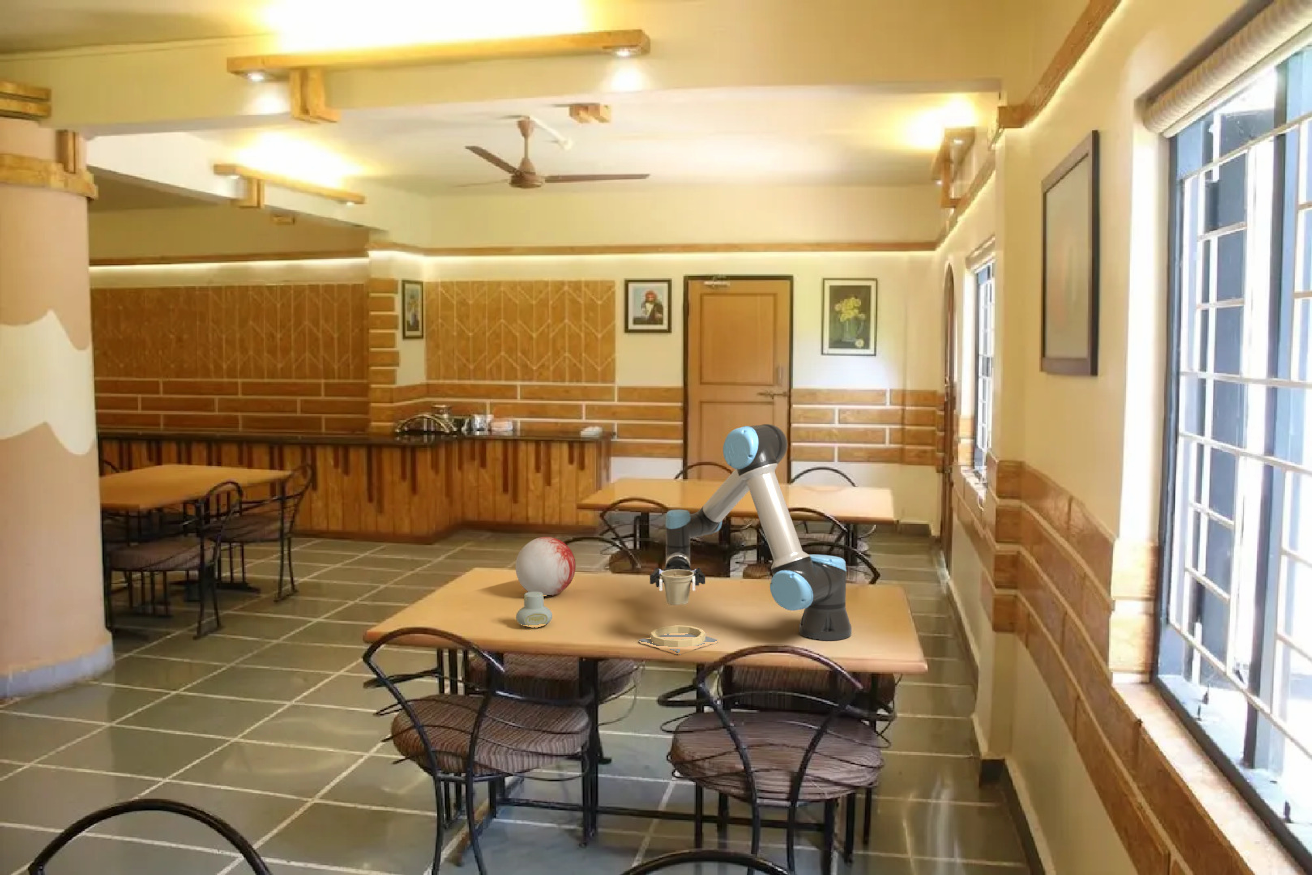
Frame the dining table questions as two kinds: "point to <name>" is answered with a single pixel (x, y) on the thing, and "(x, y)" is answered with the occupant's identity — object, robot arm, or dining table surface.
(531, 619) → the air freshener
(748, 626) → the dining table surface
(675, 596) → the flower pot
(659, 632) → the collar plate
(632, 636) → the dining table surface
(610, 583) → the dining table surface
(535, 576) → the decorative orb
